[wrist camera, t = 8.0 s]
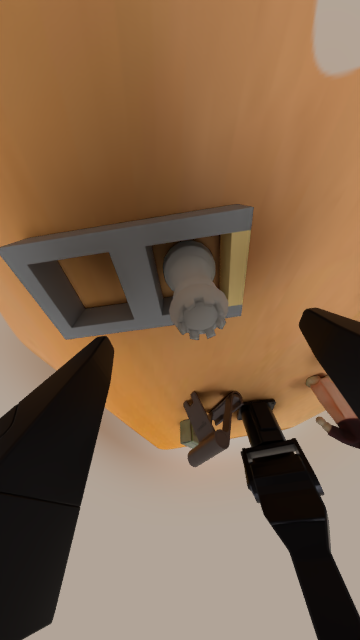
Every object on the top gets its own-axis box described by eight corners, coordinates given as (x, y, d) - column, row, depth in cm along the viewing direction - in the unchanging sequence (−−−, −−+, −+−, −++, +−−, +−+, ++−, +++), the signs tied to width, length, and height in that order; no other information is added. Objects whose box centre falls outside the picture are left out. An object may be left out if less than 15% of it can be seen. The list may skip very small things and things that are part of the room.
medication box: (178, 420, 35) (179, 443, 32) (189, 417, 34) (191, 440, 31) (205, 436, 41) (208, 456, 38) (215, 433, 41) (218, 454, 37)
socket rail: (231, 298, 17) (241, 316, 15) (79, 319, 18) (65, 339, 15) (237, 204, 12) (253, 206, 10) (27, 238, 13) (-5, 248, 10)
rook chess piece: (218, 279, 16) (250, 339, 9) (173, 295, 16) (175, 359, 10) (206, 229, 13) (240, 265, 7) (154, 250, 14) (140, 300, 7)
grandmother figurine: (345, 368, 26) (458, 481, 16) (338, 381, 28) (432, 487, 18) (293, 378, 27) (367, 490, 17) (290, 390, 29) (354, 495, 19)
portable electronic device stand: (214, 413, 33) (225, 468, 27) (178, 408, 31) (180, 466, 25) (239, 391, 29) (260, 451, 22) (198, 383, 27) (208, 447, 20)
